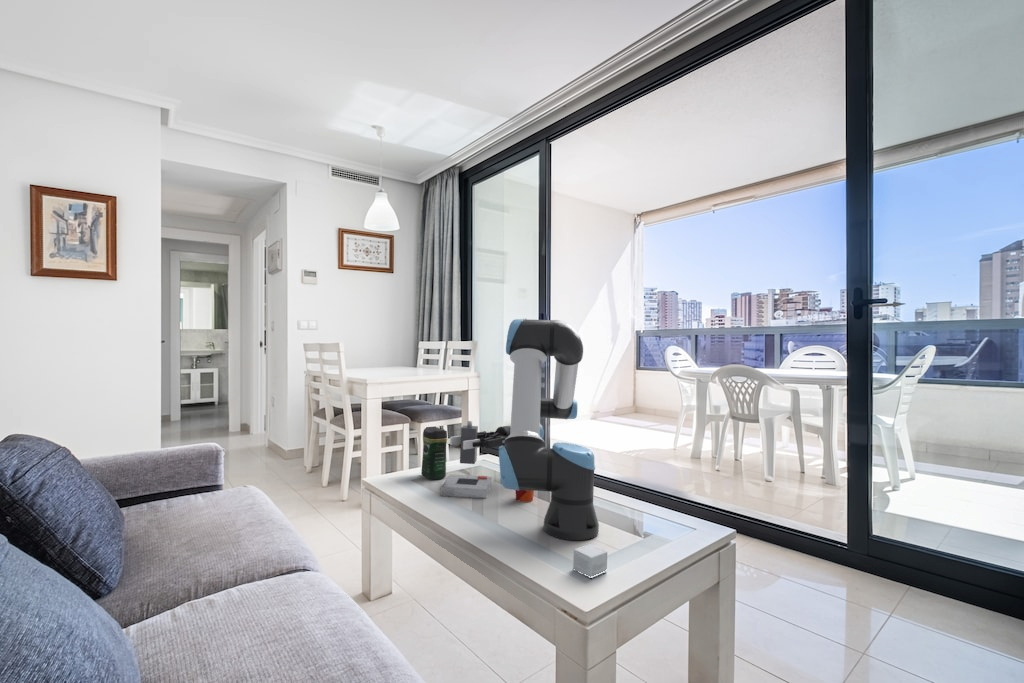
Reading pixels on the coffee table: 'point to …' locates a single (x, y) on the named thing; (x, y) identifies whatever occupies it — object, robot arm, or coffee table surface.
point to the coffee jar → (434, 453)
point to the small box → (589, 560)
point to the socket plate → (466, 486)
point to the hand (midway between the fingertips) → (457, 443)
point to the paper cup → (524, 495)
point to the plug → (466, 434)
